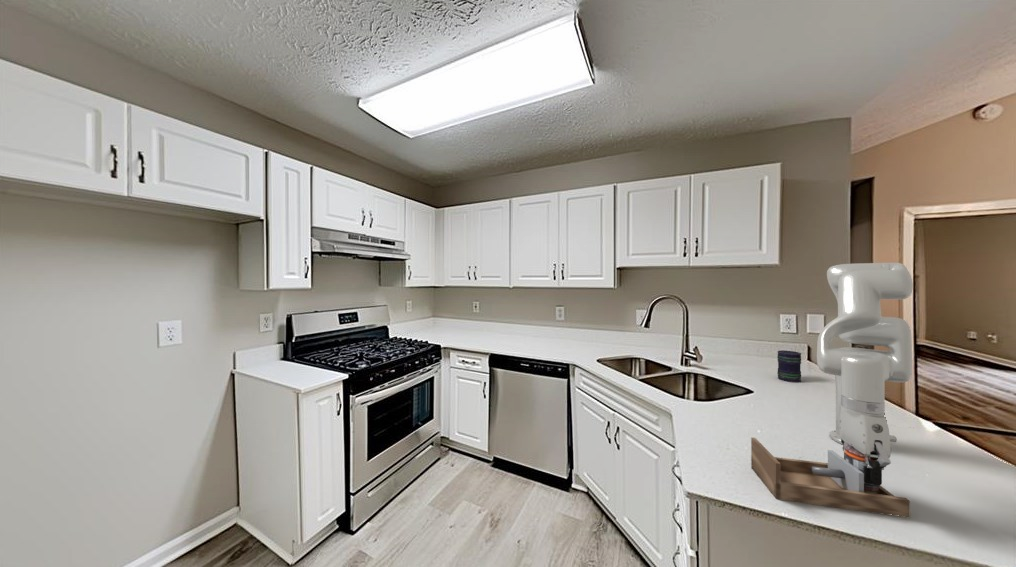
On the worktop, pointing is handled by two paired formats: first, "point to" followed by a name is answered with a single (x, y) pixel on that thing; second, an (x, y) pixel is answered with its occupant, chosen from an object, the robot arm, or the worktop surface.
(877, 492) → the pusher lane
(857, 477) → the pusher plate
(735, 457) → the worktop surface
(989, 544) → the worktop surface
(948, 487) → the worktop surface
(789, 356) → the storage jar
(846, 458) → the supplement bottle
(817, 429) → the worktop surface
